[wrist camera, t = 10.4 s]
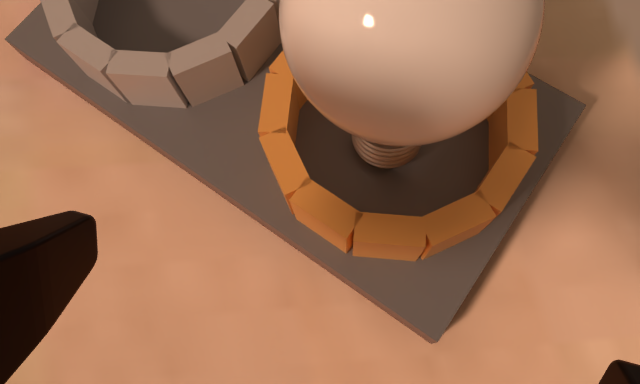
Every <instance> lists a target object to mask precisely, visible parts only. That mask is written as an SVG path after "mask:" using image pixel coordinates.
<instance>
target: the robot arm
mask: <svg viewBox="0 0 640 384" xmlns="http://www.w3.org/2000/svg"><path fill="white" fill-rule="evenodd" d="M97 255H98V249H97V231H96V221H95V219H94V218H93V217H92V216H91V215H88V214H84V213H80V212H77V211H67V212H63V213H59V214H55V215H51V216H47V217H43V218H39V219H35V220H31V221H27V222H23V223H19V224H15V225H11V226H7V227H3V228H0V384H5V383H6V382H7V380H8V379H9V378H10V377H11V376H12V375H13V373H14V372H15V371H16V370H17V369H18V367H19V366H20V365H21V364H22V363H23V362H24V360H25V359H26V358H27V357H28V356H29V355H30V353H31V352H32V351H33V350H34V349H35V348H36V346H37V345H38V344H39V343H40V342H41V340H42V339H43V338H44V337H45V335H46V334H47V333H48V332H49V330H50V329H51V327H52V326H53V325H54V323H55V322H56V321H57V319H58V318H59V316H60V315H61V313H62V312H63V310H64V309H65V308H66V306H67V305H68V303H69V302H70V300H71V299H72V297H73V296H74V294H75V293H76V292H77V290H78V289H79V287H80V286H81V284H82V283H83V281H84V280H85V279H86V277H87V276H88V274H89V273H90V271H91V270H92V268H93V267H94V265H95V263H96V260H97ZM599 384H640V365H637V364H634V363H630V362H626V361H623V360H615V361H613V362H612V363H611V364H610V365H609V367H608V368H607V370H606V372H605V373H604V375H603V377H602V379H601V380H600V382H599Z"/></svg>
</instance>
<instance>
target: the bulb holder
mask: <svg viewBox="0 0 640 384" xmlns="http://www.w3.org/2000/svg"><path fill="white" fill-rule="evenodd" d="M40 1H41V3H40V4H39V5H38V6H37V7H36V8H35V9H34V10H33V11H32V12H31V13H30V14H29V15H28V16H27V17H26V18H25V19H24V20H23V21H22V22H21V23H20V24H19V25H18V26H17V27H16V28H15V29H14V30H13V31H12V32H11V33H10V34H9V35H8V36H7V37H6V38H5V40H6V41H7V42H8V43H9V44H10V45H11V46H13V47H14V48H15V49H16V50H17V51H18V52H19V53H20V54H21V55H22V56H23V57H24V58H26V59H27V60H28V61H30V62H31V63H33V64H34V65H36V66H37V67H38V68H40V69H41V70H43V71H44V72H45V73H47V74H48V75H50V76H51V77H53V78H54V79H55V80H57V81H58V82H60V83H61V84H63V85H64V86H65V87H67V88H68V89H70V90H71V91H72V92H74V93H75V94H77V95H78V96H80V97H81V98H82V99H84V100H85V101H87V102H88V103H90V104H91V105H92V106H94V107H95V108H97V109H98V110H99V111H101V112H102V113H104V114H105V115H107V116H108V117H109V118H111V119H112V120H114V121H115V122H117V123H118V124H119V125H121V126H122V127H124V128H125V129H127V130H128V131H129V132H131V133H132V134H134V135H135V136H136V137H138V138H139V139H141V140H142V141H144V142H145V143H146V144H148V145H149V146H151V147H152V148H154V149H155V150H156V151H158V152H159V153H161V154H162V155H163V156H165V157H166V158H168V159H169V160H171V161H172V162H173V163H175V164H176V165H178V166H179V167H181V168H182V169H183V170H185V171H186V172H188V173H189V174H191V175H192V176H193V177H195V178H196V179H198V180H199V181H200V182H202V183H203V184H205V185H206V186H208V187H209V188H210V189H212V190H213V191H215V192H216V193H218V194H219V195H220V196H222V197H223V198H225V199H226V200H227V201H229V202H230V203H232V204H233V205H235V206H236V207H237V208H239V209H240V210H242V211H243V212H245V213H246V214H247V215H249V216H250V217H252V218H253V219H254V220H256V221H257V222H259V223H260V224H262V225H263V226H264V227H266V228H267V229H269V230H270V231H272V232H273V233H274V234H276V235H277V236H279V237H280V238H282V239H283V240H284V241H286V242H287V243H289V244H290V245H291V246H293V247H294V248H296V249H297V250H299V251H300V252H301V253H303V254H304V255H306V256H307V257H309V258H310V259H311V260H313V261H314V262H316V263H317V264H318V265H320V266H321V267H323V268H324V269H326V270H327V271H328V272H330V273H331V274H333V275H334V276H336V277H337V278H338V279H340V280H341V281H343V282H344V283H346V284H347V285H348V286H350V287H351V288H353V289H354V290H355V291H357V292H358V293H360V294H361V295H363V296H364V297H365V298H367V299H368V300H370V301H371V302H373V303H374V304H375V305H377V306H378V307H380V308H381V309H382V310H384V311H385V312H387V313H388V314H390V315H391V316H392V317H394V318H395V319H397V320H398V321H400V322H401V323H402V324H404V325H405V326H407V327H408V328H409V329H411V330H412V331H414V332H415V333H417V334H418V335H419V336H421V337H422V338H424V339H425V340H427V341H428V342H429V343H431V344H432V343H437V342H438V341H439V339H440V338H441V336H442V335H443V333H444V331H445V330H446V328H447V327H448V325H449V323H450V322H451V320H452V319H453V317H454V315H455V314H456V312H457V311H458V309H459V307H460V306H461V304H462V303H463V301H464V299H465V298H466V296H467V295H468V293H469V291H470V290H471V288H472V287H473V285H474V283H475V282H476V280H477V279H478V277H479V276H480V274H481V272H482V271H483V269H484V268H485V266H486V264H487V263H488V261H489V260H490V258H491V256H492V255H493V253H494V252H495V250H496V248H497V247H498V245H499V244H500V242H501V240H502V239H503V237H504V236H505V234H506V232H507V231H508V229H509V228H510V226H511V225H512V223H513V221H514V220H515V218H516V217H517V215H518V213H519V212H520V210H521V209H522V207H523V205H524V204H525V202H526V201H527V199H528V197H529V196H530V194H531V193H532V191H533V189H534V188H535V186H536V185H537V183H538V181H539V180H540V178H541V177H542V175H543V173H544V172H545V170H546V169H547V167H548V166H549V164H550V162H551V161H552V159H553V158H554V156H555V154H556V153H557V151H558V150H559V148H560V146H561V145H562V143H563V142H564V140H565V138H566V137H567V135H568V134H569V132H570V130H571V129H572V127H573V126H574V124H575V122H576V121H577V119H578V118H579V116H580V115H581V113H582V111H583V110H584V108H585V107H586V105H585V104H583V103H582V102H580V101H578V100H576V99H574V98H572V97H571V96H569V95H567V94H565V93H563V92H561V91H560V90H558V89H556V88H554V87H552V86H550V85H549V84H547V83H545V82H543V81H541V80H540V79H538V78H536V77H534V76H532V75H530V74H529V73H527V71H526V73H525V75H524V77H523V78H522V80H521V81H520V83H519V84H518V86H517V87H516V89H515V90H514V91H513V93H512V94H511V95H510V96H509V98H508V99H507V100H506V101H505V102H504V103H503V104H502V105H501V106H500V107H499V108H498V109H497V110H496V111H495V112H493V113H492V114H491V115H490V116H489V117H487V118H486V119H485V120H483V121H482V122H481V123H479V124H478V125H476V126H474V127H473V128H471V129H469V130H467V131H465V132H464V133H462V134H459V135H457V136H455V137H452V138H450V139H447V140H444V141H440V142H437V143H432V144H427V145H421V147H420V150H419V152H418V153H417V155H416V156H415V157H414V158H413V159H412V160H411V161H409V162H408V163H406V164H404V165H402V166H400V167H396V168H380V167H376V166H373V165H371V164H369V163H367V162H366V161H365V160H363V159H362V158H361V157H360V156H359V154H358V153H357V152H356V150H355V148H354V145H353V142H352V135H351V134H349V133H347V132H345V131H343V130H342V129H340V128H338V127H337V126H335V125H334V124H333V123H331V122H330V121H329V120H327V119H326V118H325V117H324V116H323V115H321V114H320V113H319V112H318V111H317V110H316V109H315V108H314V107H313V105H312V104H311V103H310V102H309V101H308V100H307V98H306V97H305V96H304V94H303V93H302V91H301V90H300V88H299V87H298V85H297V83H296V81H295V80H294V78H293V76H292V73H291V71H290V69H289V66H288V64H287V61H286V58H285V55H284V51H283V47H282V42H281V37H280V28H279V4H280V0H40Z"/></svg>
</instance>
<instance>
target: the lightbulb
mask: <svg viewBox="0 0 640 384" xmlns="http://www.w3.org/2000/svg"><path fill="white" fill-rule="evenodd" d="M544 9H545V0H280V4H279V28H280V37H281V42H282V47H283V51H284V55H285V58H286V61H287V64H288V66H289V69H290V71H291V73H292V76H293V78H294V80H295V81H296V83H297V85H298V87H299V88H300V90H301V91H302V93H303V94H304V96H305V97H306V98H307V100H308V101H309V102H310V103H311V104H312V105H313V107H314V108H315V109H316V110H317V111H318V112H319V113H320V114H321V115H323V116H324V117H325V118H326V119H327V120H329V121H330V122H331V123H333V124H334V125H335V126H337V127H338V128H340V129H342V130H343V131H345V132H347V133H349V134H351V135H352V142H353V145H354V148H355V150H356V152H357V153H358V154H359V156H360V157H361V158H362V159H363V160H365V161H366V162H367V163H369V164H371V165H373V166H376V167H380V168H396V167H400V166H402V165H404V164H406V163H408V162H409V161H411V160H412V159H413V158H414V157H415V156H416V155H417V153H418V152H419V150H420V147H421V145H427V144H432V143H437V142H440V141H444V140H447V139H450V138H452V137H455V136H457V135H459V134H462V133H464V132H465V131H467V130H469V129H471V128H473V127H474V126H476V125H478V124H479V123H481V122H482V121H483V120H485V119H486V118H487V117H489V116H490V115H491V114H492V113H493V112H495V111H496V110H497V109H498V108H499V107H500V106H501V105H502V104H503V103H504V102H505V101H506V100H507V99H508V98H509V96H510V95H511V94H512V93H513V91H514V90H515V89H516V87H517V86H518V84H519V83H520V81H521V80H522V78H523V77H524V75H525V73H526V71H527V70H528V68H529V66H530V64H531V61H532V59H533V57H534V54H535V51H536V49H537V46H538V43H539V39H540V35H541V31H542V26H543V20H544Z"/></svg>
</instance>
